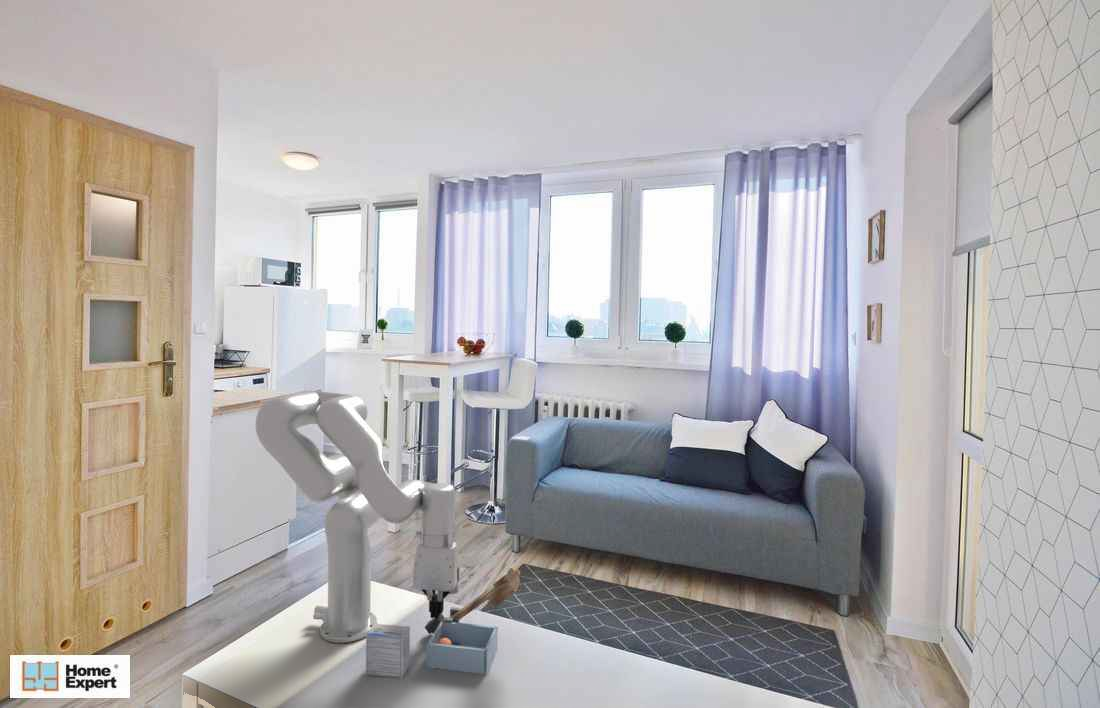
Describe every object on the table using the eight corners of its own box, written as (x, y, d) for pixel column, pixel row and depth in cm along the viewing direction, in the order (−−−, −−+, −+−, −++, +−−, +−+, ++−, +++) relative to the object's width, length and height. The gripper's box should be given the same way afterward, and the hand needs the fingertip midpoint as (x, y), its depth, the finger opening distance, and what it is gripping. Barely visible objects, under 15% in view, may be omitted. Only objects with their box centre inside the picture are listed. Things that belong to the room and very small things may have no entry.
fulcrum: (433, 644, 119) (434, 620, 119) (444, 627, 126) (444, 604, 126) (459, 647, 118) (459, 623, 118) (468, 630, 125) (468, 607, 125)
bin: (426, 667, 111) (426, 644, 111) (441, 642, 120) (441, 621, 120) (486, 674, 109) (487, 650, 109) (497, 648, 118) (497, 626, 118)
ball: (449, 644, 113) (447, 659, 113) (454, 636, 116) (452, 650, 117) (435, 641, 114) (433, 655, 114) (440, 633, 117) (439, 647, 117)
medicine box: (410, 665, 112) (410, 625, 111) (402, 679, 107) (402, 637, 107) (374, 662, 112) (375, 622, 112) (365, 675, 108) (365, 634, 108)
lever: (417, 662, 113) (408, 649, 113) (436, 633, 124) (427, 621, 124) (515, 593, 109) (505, 580, 109) (525, 569, 120) (516, 557, 121)
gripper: (400, 541, 119) (399, 620, 120) (464, 547, 117) (461, 627, 118) (413, 529, 127) (412, 604, 127) (473, 534, 125) (471, 610, 125)
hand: (436, 615), depth 123 cm, fingers closed
